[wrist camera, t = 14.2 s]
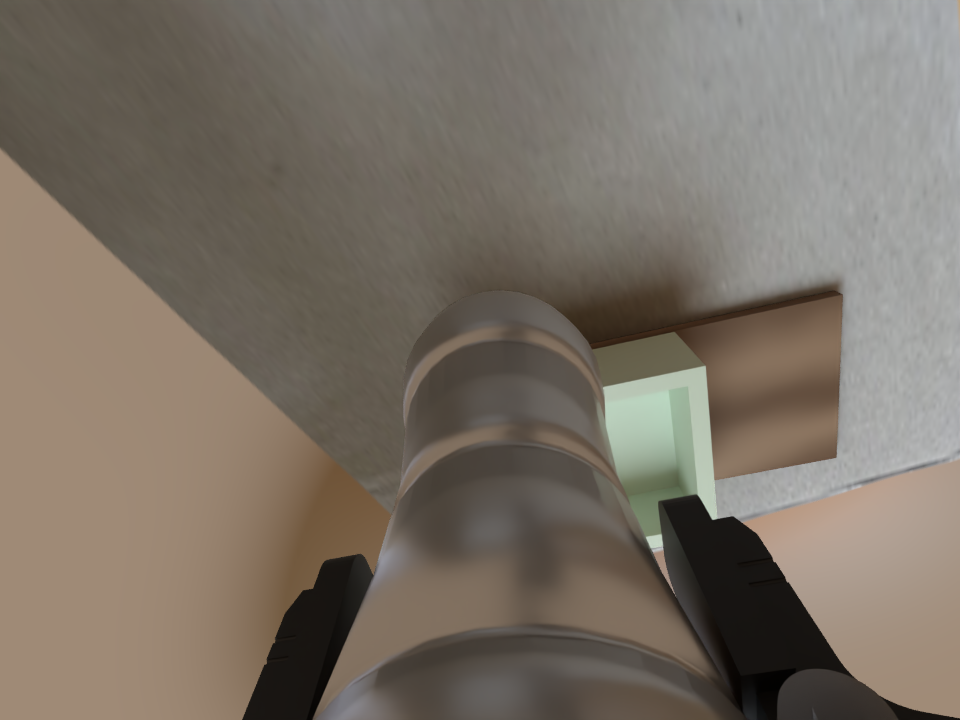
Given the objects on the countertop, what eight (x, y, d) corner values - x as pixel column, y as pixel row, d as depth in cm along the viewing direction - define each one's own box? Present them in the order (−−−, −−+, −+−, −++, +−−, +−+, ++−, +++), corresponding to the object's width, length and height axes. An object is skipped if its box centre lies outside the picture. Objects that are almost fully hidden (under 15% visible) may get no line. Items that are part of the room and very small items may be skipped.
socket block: (485, 372, 34) (485, 411, 29) (674, 331, 32) (705, 365, 28) (523, 516, 38) (528, 569, 34) (689, 485, 37) (718, 536, 33)
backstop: (455, 373, 35) (445, 461, 26) (834, 290, 32) (973, 356, 23) (496, 513, 39) (500, 630, 30) (829, 451, 37) (942, 558, 28)
